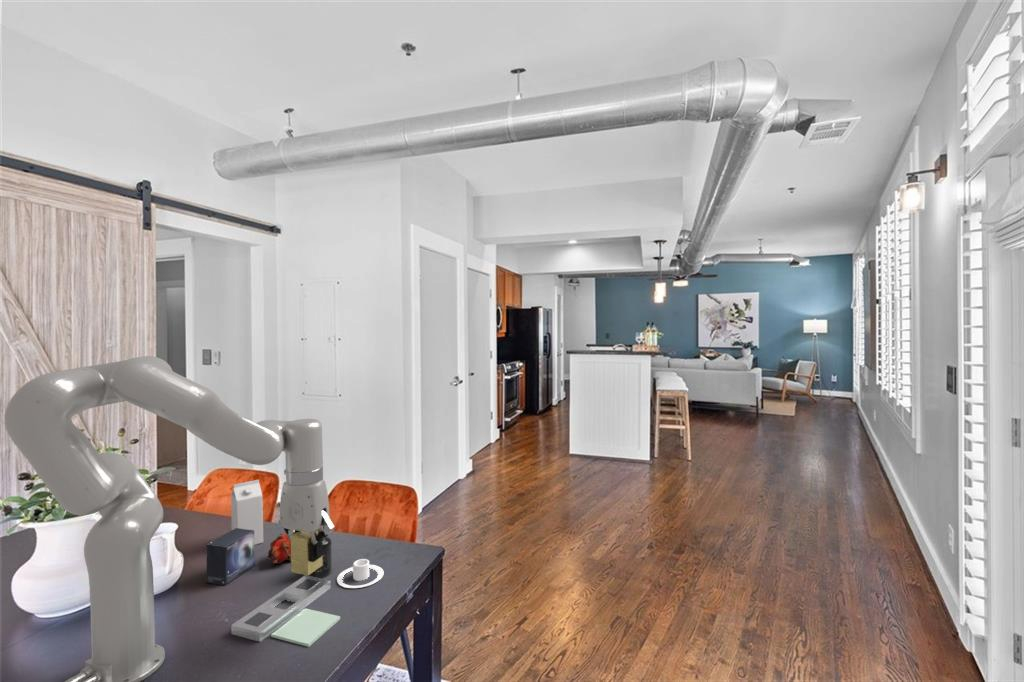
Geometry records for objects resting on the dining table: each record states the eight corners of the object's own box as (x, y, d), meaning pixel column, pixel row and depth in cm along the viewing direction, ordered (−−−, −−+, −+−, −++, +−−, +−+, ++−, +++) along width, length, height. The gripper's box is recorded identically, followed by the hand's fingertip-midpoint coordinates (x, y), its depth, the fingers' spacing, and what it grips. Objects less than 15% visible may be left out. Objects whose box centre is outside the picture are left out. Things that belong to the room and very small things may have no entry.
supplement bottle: (305, 569, 131) (304, 526, 131) (331, 565, 134) (331, 522, 133) (304, 582, 125) (304, 537, 124) (332, 577, 127) (331, 532, 127)
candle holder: (335, 594, 120) (335, 577, 120) (337, 571, 131) (337, 555, 131) (385, 586, 123) (384, 569, 123) (382, 564, 135) (382, 549, 135)
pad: (308, 646, 99) (308, 644, 99) (271, 637, 103) (271, 634, 103) (340, 619, 109) (340, 616, 109) (305, 610, 112) (305, 608, 112)
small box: (226, 586, 123) (225, 546, 122) (205, 583, 124) (204, 544, 124) (256, 566, 133) (255, 529, 133) (236, 563, 134) (235, 527, 134)
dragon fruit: (306, 555, 143) (273, 580, 132) (287, 536, 144) (253, 559, 133) (316, 537, 140) (283, 561, 129) (297, 517, 141) (262, 540, 130)
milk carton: (231, 542, 148) (230, 481, 147) (256, 535, 153) (255, 476, 152) (237, 550, 143) (236, 487, 142) (263, 542, 147) (262, 482, 147)
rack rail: (260, 641, 101) (259, 632, 101) (231, 634, 104) (231, 624, 103) (330, 587, 122) (330, 579, 122) (305, 582, 124) (305, 574, 124)
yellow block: (308, 575, 103) (307, 539, 102) (291, 572, 104) (290, 536, 104) (322, 565, 107) (321, 530, 107) (306, 562, 108) (305, 527, 108)
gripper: (261, 477, 104) (263, 559, 104) (324, 485, 98) (326, 571, 99) (287, 467, 111) (289, 544, 112) (347, 474, 106) (349, 555, 106)
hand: (306, 556), depth 105 cm, fingers closed on yellow block, 4 cm apart
